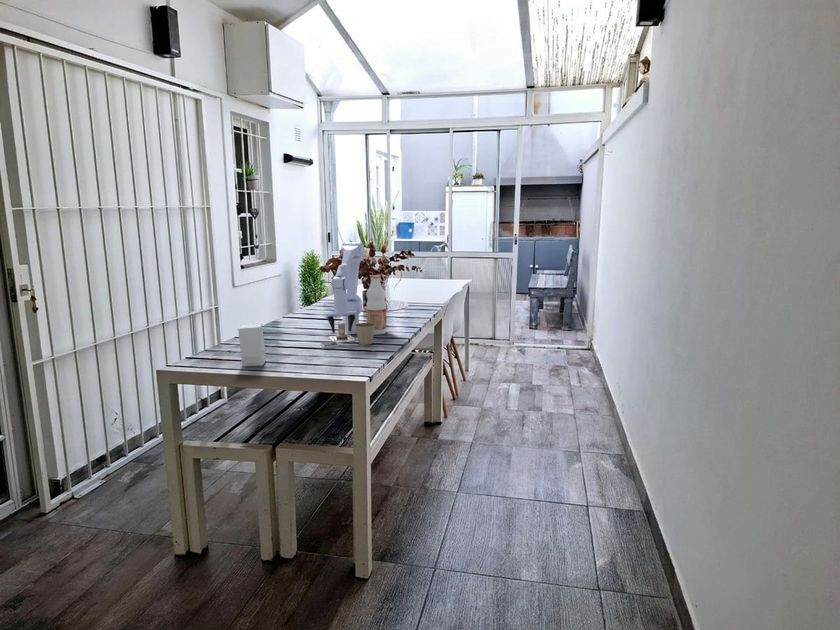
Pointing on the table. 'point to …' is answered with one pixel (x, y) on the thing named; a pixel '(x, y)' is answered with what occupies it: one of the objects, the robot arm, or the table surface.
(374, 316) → the fruit juice
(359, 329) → the flower pot
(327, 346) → the ink pad
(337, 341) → the print card
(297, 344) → the table surface
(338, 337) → the stamp
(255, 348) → the skincare box
